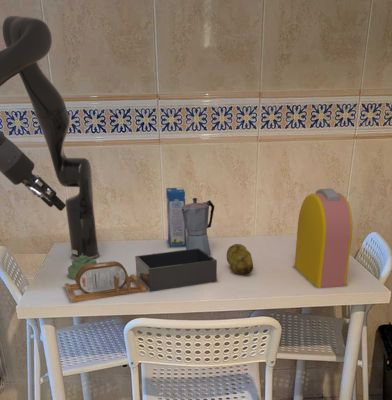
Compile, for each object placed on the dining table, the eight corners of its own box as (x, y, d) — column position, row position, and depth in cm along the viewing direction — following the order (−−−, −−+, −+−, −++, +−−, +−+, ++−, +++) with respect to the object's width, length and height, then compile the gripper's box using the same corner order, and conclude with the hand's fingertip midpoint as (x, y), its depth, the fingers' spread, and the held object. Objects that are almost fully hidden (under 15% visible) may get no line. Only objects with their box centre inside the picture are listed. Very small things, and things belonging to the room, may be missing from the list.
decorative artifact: (101, 278, 157) (99, 268, 166) (99, 256, 154) (97, 248, 163) (68, 281, 156) (69, 271, 164) (65, 259, 152) (66, 250, 161)
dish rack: (64, 287, 150) (62, 271, 148) (134, 277, 158) (133, 262, 155) (72, 302, 140) (69, 285, 137) (146, 291, 147) (145, 275, 144)
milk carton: (168, 240, 197) (166, 188, 188) (183, 239, 198) (182, 187, 188) (169, 247, 188) (167, 192, 179) (186, 246, 189) (184, 192, 180)
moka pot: (173, 256, 177) (171, 199, 168) (203, 247, 187) (202, 192, 178) (193, 261, 172) (192, 202, 162) (222, 252, 182) (223, 195, 172)
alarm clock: (346, 285, 149) (358, 194, 137) (317, 287, 148) (327, 196, 135) (319, 264, 167) (328, 182, 155) (293, 266, 166) (300, 183, 154)
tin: (126, 285, 151) (124, 258, 147) (129, 288, 149) (127, 261, 145) (76, 293, 146) (73, 265, 142) (79, 297, 143) (76, 268, 139)
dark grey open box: (136, 276, 158) (135, 255, 155) (199, 268, 165) (198, 248, 162) (150, 291, 146) (148, 269, 143) (216, 281, 153) (216, 260, 150)
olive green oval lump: (226, 277, 157) (227, 252, 153) (226, 265, 168) (226, 241, 164) (253, 277, 156) (254, 252, 153) (250, 265, 168) (251, 241, 164)
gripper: (28, 151, 121) (76, 198, 132) (13, 149, 132) (58, 193, 143) (8, 174, 121) (57, 220, 131) (-6, 170, 132) (41, 213, 142)
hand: (58, 206), depth 137 cm, fingers open, 8 cm apart
